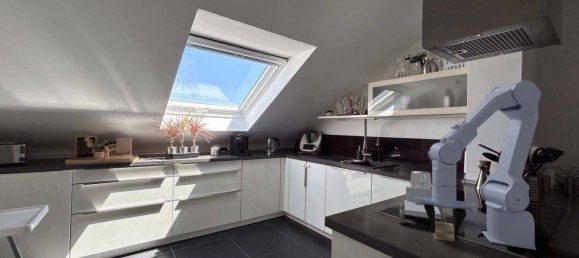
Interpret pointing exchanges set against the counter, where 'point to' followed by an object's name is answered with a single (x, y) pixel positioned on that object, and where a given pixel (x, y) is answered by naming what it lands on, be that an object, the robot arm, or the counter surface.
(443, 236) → the block
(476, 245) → the counter surface
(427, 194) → the trolley
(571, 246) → the counter surface
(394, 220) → the counter surface
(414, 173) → the beer glass
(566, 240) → the counter surface
